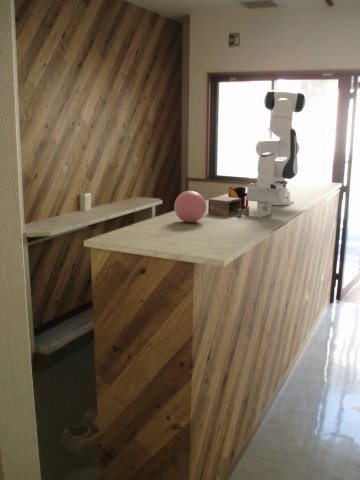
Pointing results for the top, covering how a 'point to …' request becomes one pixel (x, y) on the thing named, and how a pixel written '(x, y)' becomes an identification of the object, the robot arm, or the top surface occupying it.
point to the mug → (238, 195)
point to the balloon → (190, 206)
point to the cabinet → (226, 206)
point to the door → (262, 209)
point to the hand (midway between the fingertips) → (264, 210)
